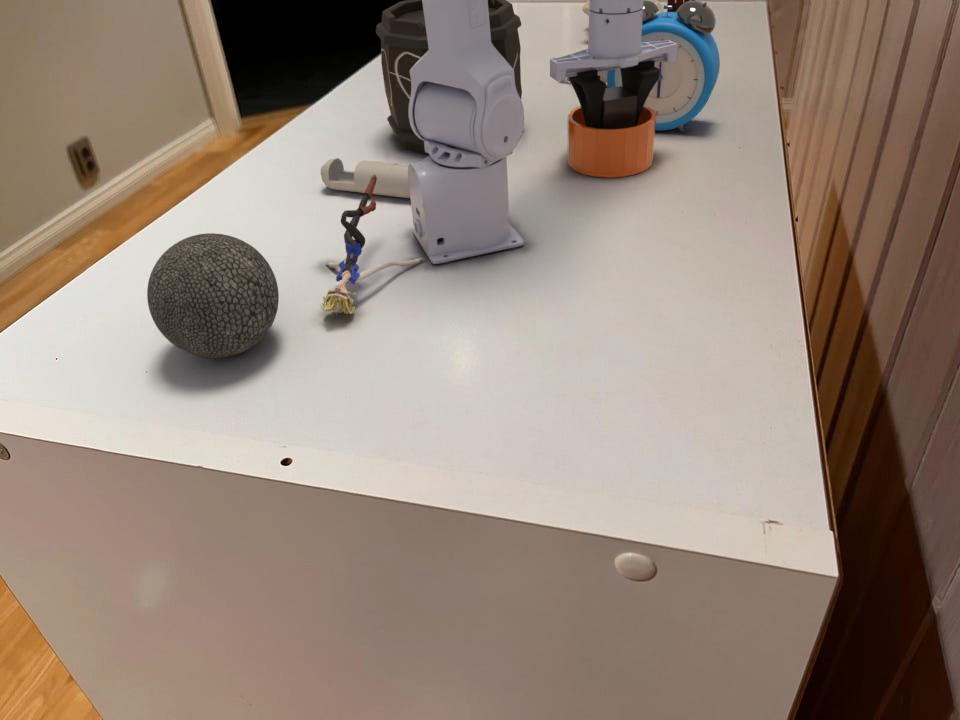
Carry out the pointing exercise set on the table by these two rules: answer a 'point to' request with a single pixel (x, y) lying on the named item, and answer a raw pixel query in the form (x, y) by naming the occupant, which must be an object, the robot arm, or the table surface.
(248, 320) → the decorative ball
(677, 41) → the alarm clock
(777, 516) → the table surface
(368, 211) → the figurine
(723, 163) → the table surface
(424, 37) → the wooden barrel
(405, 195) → the white notched cylinder
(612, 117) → the block
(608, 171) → the cup
